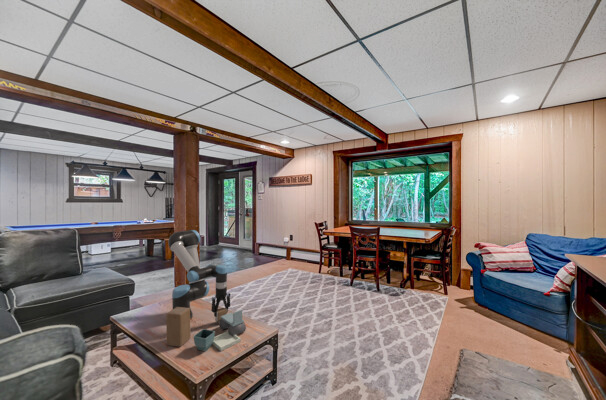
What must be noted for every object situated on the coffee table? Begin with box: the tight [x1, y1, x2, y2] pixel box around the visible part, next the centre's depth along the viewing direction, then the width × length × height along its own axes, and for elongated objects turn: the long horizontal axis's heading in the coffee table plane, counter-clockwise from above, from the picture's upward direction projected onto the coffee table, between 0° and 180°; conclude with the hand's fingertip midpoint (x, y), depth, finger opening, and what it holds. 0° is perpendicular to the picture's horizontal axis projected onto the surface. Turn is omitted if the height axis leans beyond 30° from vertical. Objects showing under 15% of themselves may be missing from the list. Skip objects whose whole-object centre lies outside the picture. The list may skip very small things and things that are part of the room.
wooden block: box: [165, 307, 191, 348], centre depth 159 cm, size 10×10×20 cm
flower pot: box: [192, 328, 216, 352], centre depth 152 cm, size 9×9×9 cm
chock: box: [217, 307, 228, 323], centre depth 182 cm, size 5×6×7 cm
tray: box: [212, 330, 242, 352], centre depth 159 cm, size 13×13×2 cm
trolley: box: [218, 309, 247, 337], centre depth 172 cm, size 19×9×15 cm, turn 46°
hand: (220, 319), depth 182 cm, fingers closed on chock, 6 cm apart
